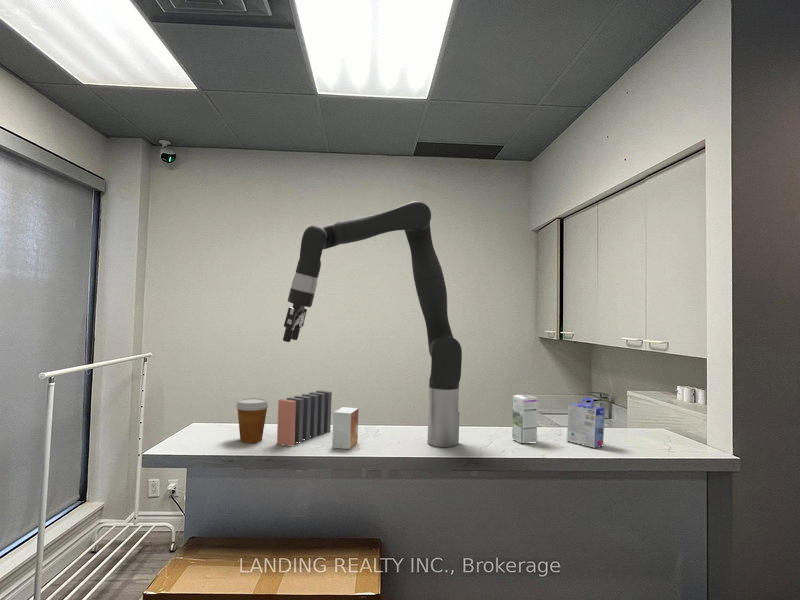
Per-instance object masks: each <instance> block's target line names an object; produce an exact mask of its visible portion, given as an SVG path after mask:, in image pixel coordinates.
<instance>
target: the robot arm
mask: <svg viewBox="0 0 800 600" xmlns="http://www.w3.org/2000/svg"><path fill="white" fill-rule="evenodd" d="M431 219H432V211H431V209H430V207H429V206H428V205H427V204H426V203H425V202H422V201H419V200H413V201H410V202H408V203H405V204H403V205H400V206H398V207H395V208H393V209H390V210H386V211H382V212H379V213H374V214H371V215H370V214H369V215H365V216H360V217H355V218H350V219H345V220H342V221H337V222H336V223H334V224H332V225H329V226H324V227H322V226H319V225H313V224H312V225H309V226H308V227H307V228H305V229H304V232H303V234H302V237H301V242H300V249H299V250H300V251H299V258H298V261H297V266H296V269H295V273H294V276H293V279H292V282H291V286H290V290H289V293H288V297H287V302H288V303H290V304H292V307H290V306H289V307H288V309H287V313H286V316H285V321H284V324H283V327H284V328H285V330H284V334H283V338H282V341H283V342H286V343H290V342H292V340H293V341H297V340H298V338H299V335H300V332H301V329H302V327H304V326H305V325H304V323H305V319H306V316H307V312H308V308H311V307H312V306H313V302H314V298H315V294H316V290H317V286H318V279H319V276H320V271H321V267H322V262H321V257H322V253H323V250H327V249H331V248H334V247H336V246H339V245H346V244H351V243H355V242H360V241H363V240H368V239H370V238H373V237H376V236H379V235H381V234H382V235H383V234H386V233H389V232H397V231H404V234H405V237H406V239H407V242H408V246H409V250H410V258H411V266H412V267H411V269H412V275H413V281H414V285H415V291H416V295H417V298H418V303H419V305H420V308H421V309H420V310H421V312H422V315H423V318H424V322H425V328H426V333H427V334H426V335H427V343H428V353H429V356H430V358H431V363H430V364H431V367H430V377H429V379H428V380H429V381H428V382H429V383H428V410H427V411H428V412H427V414H428V415H427V439H426V441H427V442H426V443H427V444H428V445H430V446H432V447H433V446H434V447H438V448H439V447H440V448H452V447H456V446H457V445H458V443H459V441H460V436H459V435H460V411H459V400H460V398H459V397H460V395H459V393H460V381H461V377H462V362H463V361H462V360H463V359H462V357H463V350H462V346H461V344H460V342H459V341H458V340H457V339H456V338H455V337H454V335H453V332H452V329H451V326H450V322H449V317H448V292H447V286H446V281H445V276H444V273H443V272H444V271H443V269H442V267H441V264H440V263H441V262H440V260H439V258H438V255H437V253H436V251H435V247H434V244H433V237H432V230H431ZM457 442H458V443H457Z"/></svg>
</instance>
